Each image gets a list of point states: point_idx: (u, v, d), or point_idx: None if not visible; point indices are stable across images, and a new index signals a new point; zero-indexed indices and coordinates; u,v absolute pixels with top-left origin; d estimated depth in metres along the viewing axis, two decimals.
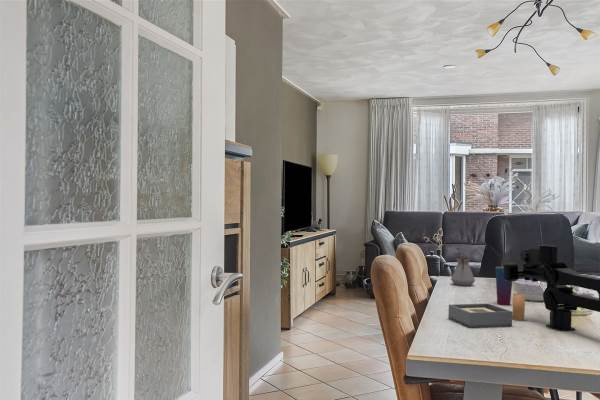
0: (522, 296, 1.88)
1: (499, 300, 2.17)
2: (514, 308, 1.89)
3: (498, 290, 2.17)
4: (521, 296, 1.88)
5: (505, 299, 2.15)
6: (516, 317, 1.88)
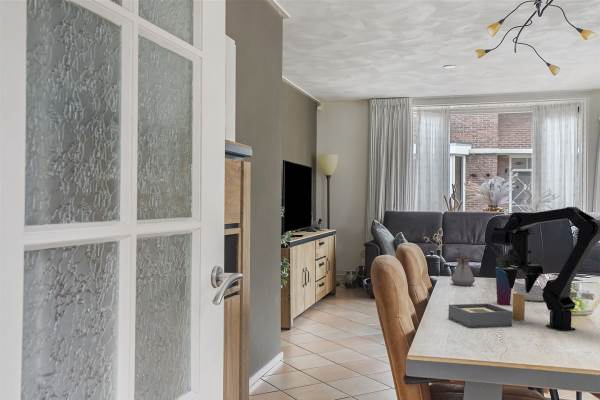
0: (522, 296, 1.88)
1: (499, 300, 2.17)
2: (514, 308, 1.89)
3: (498, 290, 2.17)
4: (521, 296, 1.88)
5: (505, 299, 2.15)
6: (516, 317, 1.88)
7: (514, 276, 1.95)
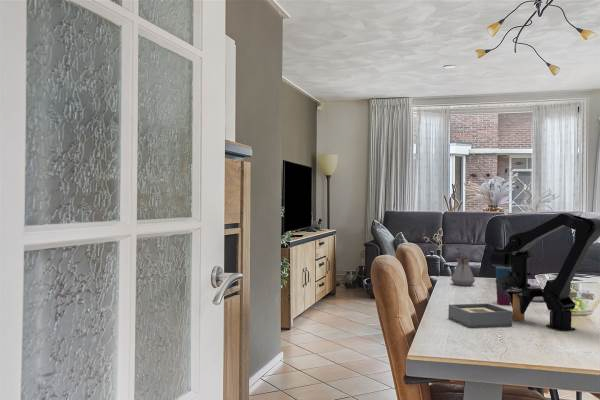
0: None
1: (499, 300, 2.17)
2: (514, 308, 1.89)
3: (498, 290, 2.17)
4: None
5: (505, 299, 2.15)
6: (516, 317, 1.88)
7: None
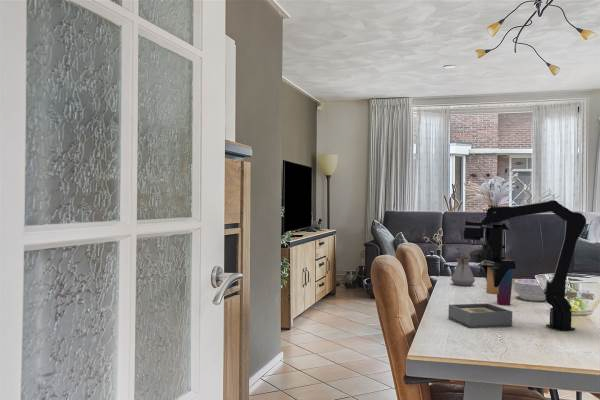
0: None
1: (499, 300, 2.17)
2: (488, 281, 1.86)
3: None
4: None
5: (505, 299, 2.15)
6: (490, 291, 1.85)
7: None
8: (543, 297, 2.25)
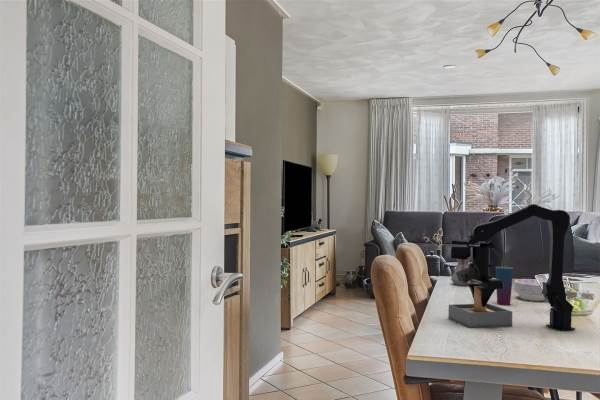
0: None
1: (499, 300, 2.17)
2: (475, 301, 1.83)
3: (498, 290, 2.17)
4: None
5: (505, 299, 2.15)
6: (477, 310, 1.82)
7: None
8: (543, 297, 2.25)
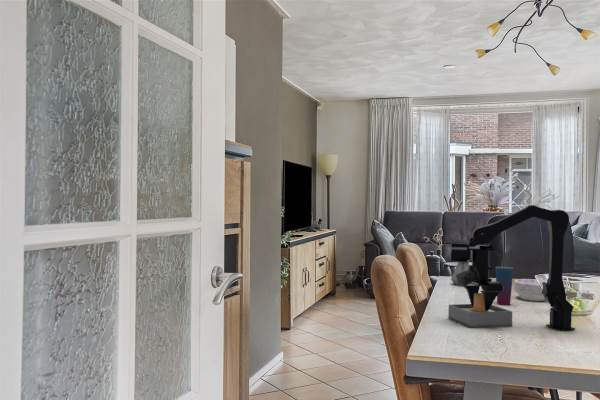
0: (483, 296, 1.82)
1: (499, 300, 2.17)
2: (475, 308, 1.83)
3: None
4: (482, 296, 1.82)
5: (505, 299, 2.15)
6: None
7: None
8: (543, 297, 2.25)
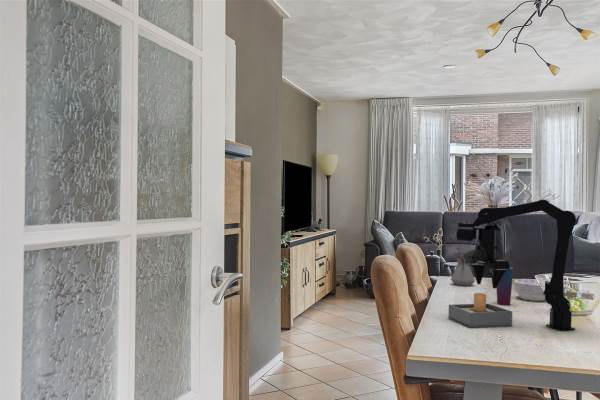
0: (483, 296, 1.82)
1: (499, 300, 2.17)
2: (475, 308, 1.83)
3: (498, 290, 2.17)
4: (482, 296, 1.82)
5: (505, 299, 2.15)
6: None
7: (481, 272, 1.94)
8: (543, 297, 2.25)
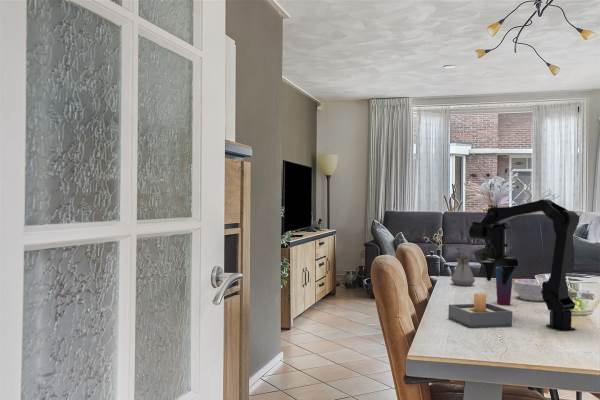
0: (483, 296, 1.82)
1: (499, 300, 2.17)
2: (475, 308, 1.83)
3: (498, 290, 2.17)
4: (482, 296, 1.82)
5: (505, 299, 2.15)
6: None
7: (491, 269, 2.02)
8: None
